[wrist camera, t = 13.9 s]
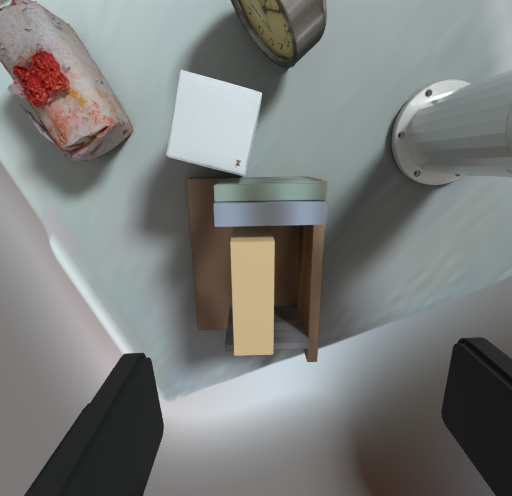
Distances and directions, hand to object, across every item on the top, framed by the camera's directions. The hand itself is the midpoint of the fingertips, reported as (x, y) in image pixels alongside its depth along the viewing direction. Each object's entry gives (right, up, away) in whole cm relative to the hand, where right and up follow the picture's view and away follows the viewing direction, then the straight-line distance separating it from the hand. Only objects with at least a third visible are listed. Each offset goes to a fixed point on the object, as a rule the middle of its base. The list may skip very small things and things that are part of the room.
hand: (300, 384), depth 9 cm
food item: (-22, +23, +26) cm, 41 cm away
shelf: (-2, +3, +33) cm, 33 cm away
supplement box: (-5, +18, +28) cm, 34 cm away
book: (-2, +3, +31) cm, 31 cm away
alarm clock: (0, +30, +25) cm, 39 cm away
